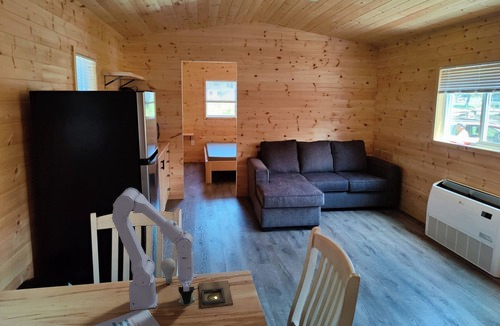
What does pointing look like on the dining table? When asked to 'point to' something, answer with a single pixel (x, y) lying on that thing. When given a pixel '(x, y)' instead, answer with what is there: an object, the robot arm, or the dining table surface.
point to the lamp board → (216, 285)
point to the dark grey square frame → (213, 296)
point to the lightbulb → (168, 269)
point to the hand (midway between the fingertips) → (186, 297)
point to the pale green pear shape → (190, 301)
